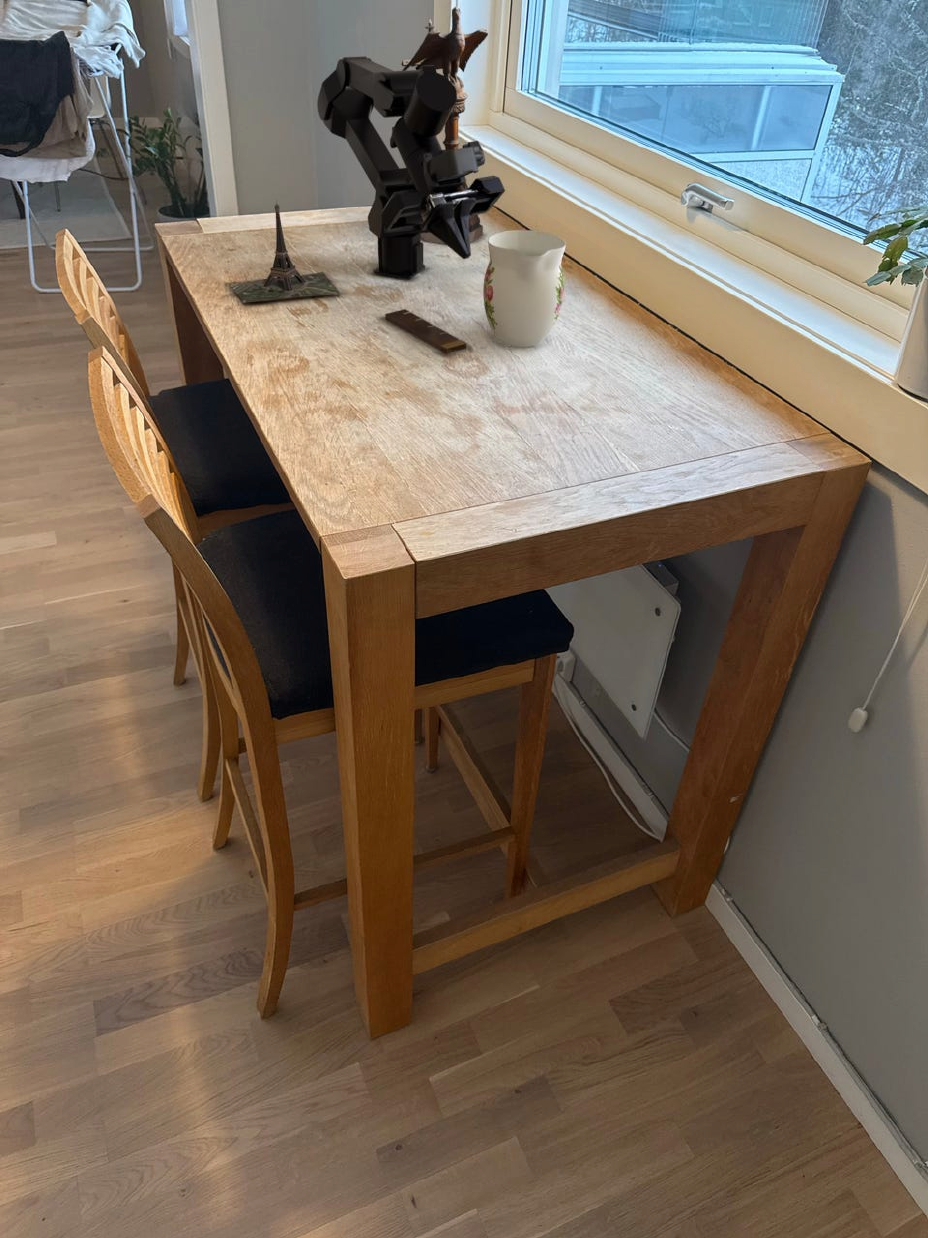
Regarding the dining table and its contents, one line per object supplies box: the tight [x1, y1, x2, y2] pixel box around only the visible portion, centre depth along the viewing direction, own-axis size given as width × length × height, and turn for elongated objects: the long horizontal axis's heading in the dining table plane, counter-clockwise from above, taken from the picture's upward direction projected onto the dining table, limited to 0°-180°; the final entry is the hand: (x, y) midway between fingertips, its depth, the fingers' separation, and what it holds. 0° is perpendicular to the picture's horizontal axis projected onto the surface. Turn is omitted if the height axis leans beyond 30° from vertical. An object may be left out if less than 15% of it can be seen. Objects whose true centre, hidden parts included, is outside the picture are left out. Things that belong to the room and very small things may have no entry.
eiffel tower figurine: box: [229, 199, 341, 304], centre depth 134 cm, size 15×10×13 cm
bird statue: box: [400, 6, 489, 245], centre depth 153 cm, size 17×13×35 cm
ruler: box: [384, 308, 467, 355], centre depth 127 cm, size 15×4×1 cm, turn 37°
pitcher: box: [482, 229, 567, 348], centre depth 123 cm, size 11×18×14 cm, turn 3°
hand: (467, 257), depth 129 cm, fingers closed
